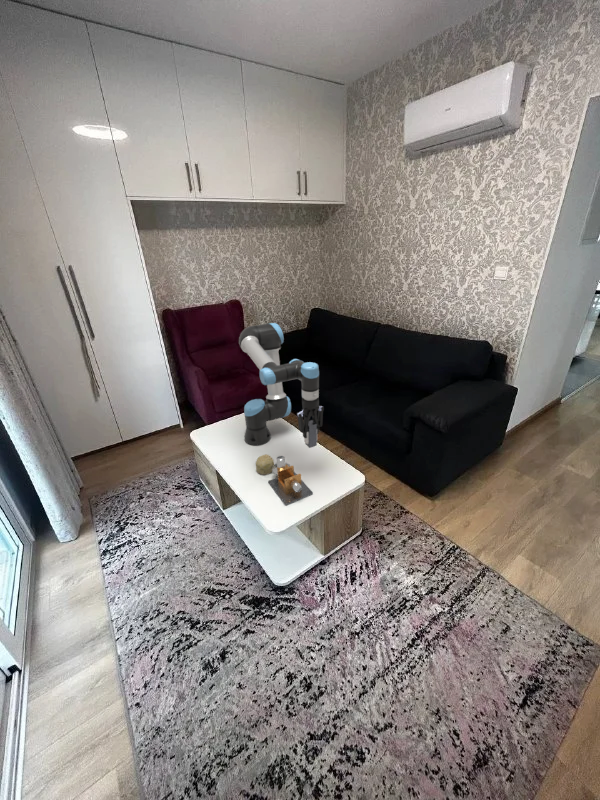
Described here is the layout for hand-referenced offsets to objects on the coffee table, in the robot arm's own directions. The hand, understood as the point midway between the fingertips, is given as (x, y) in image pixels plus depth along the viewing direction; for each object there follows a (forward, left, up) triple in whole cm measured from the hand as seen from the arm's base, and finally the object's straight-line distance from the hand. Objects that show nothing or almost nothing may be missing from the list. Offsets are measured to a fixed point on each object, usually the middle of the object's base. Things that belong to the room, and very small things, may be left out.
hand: (310, 441), depth 156 cm
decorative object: (-14, -19, -18) cm, 30 cm away
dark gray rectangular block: (0, 0, -2) cm, 2 cm away
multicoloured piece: (+4, -15, -18) cm, 24 cm away
